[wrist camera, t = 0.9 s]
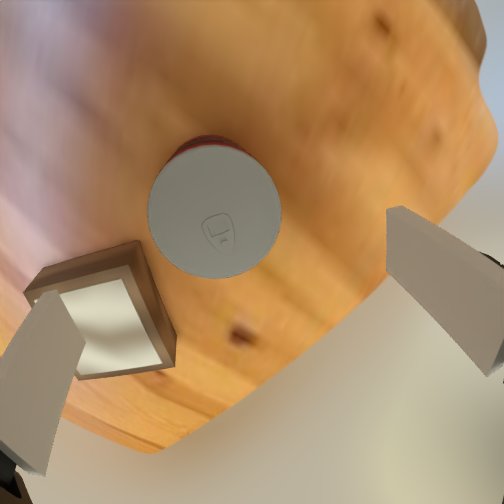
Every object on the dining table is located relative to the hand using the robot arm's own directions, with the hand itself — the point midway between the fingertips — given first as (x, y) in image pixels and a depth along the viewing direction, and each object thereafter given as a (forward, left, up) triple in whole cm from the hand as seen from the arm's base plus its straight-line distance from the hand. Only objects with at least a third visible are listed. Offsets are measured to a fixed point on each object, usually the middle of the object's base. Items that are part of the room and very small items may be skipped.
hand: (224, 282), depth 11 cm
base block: (+10, -14, -18) cm, 25 cm away
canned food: (0, 0, -18) cm, 18 cm away
